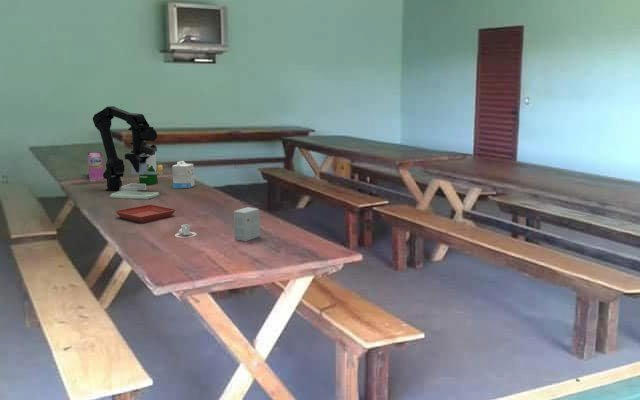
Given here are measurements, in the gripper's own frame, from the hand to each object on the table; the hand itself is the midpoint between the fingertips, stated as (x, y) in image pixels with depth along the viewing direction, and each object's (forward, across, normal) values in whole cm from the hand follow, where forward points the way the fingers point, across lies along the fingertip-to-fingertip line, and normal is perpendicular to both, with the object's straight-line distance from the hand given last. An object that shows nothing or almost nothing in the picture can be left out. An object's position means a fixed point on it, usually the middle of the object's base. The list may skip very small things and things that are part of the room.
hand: (140, 171), depth 314 cm
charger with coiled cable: (+11, -70, -56) cm, 90 cm away
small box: (+10, -73, -78) cm, 108 cm away
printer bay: (+11, +4, +6) cm, 13 cm away
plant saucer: (+11, -48, -26) cm, 55 cm away
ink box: (+11, +20, -14) cm, 27 cm away
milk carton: (+11, +25, +9) cm, 29 cm away
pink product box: (+12, +39, +47) cm, 63 cm away
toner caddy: (+1, 0, -4) cm, 4 cm away
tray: (+11, -9, -1) cm, 14 cm away
